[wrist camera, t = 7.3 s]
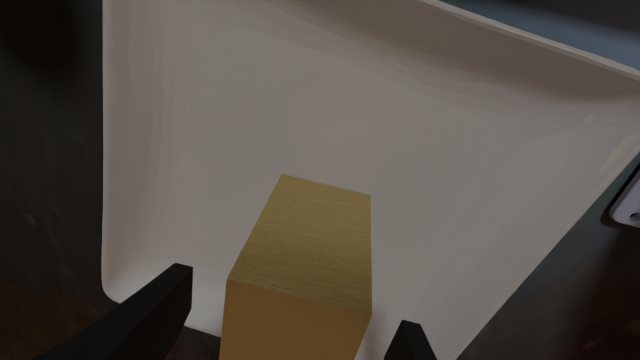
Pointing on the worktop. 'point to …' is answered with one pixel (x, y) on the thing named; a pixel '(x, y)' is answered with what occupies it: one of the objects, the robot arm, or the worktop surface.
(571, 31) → the worktop surface
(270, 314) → the yellow rectangular block
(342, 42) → the salad plate
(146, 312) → the robot arm
